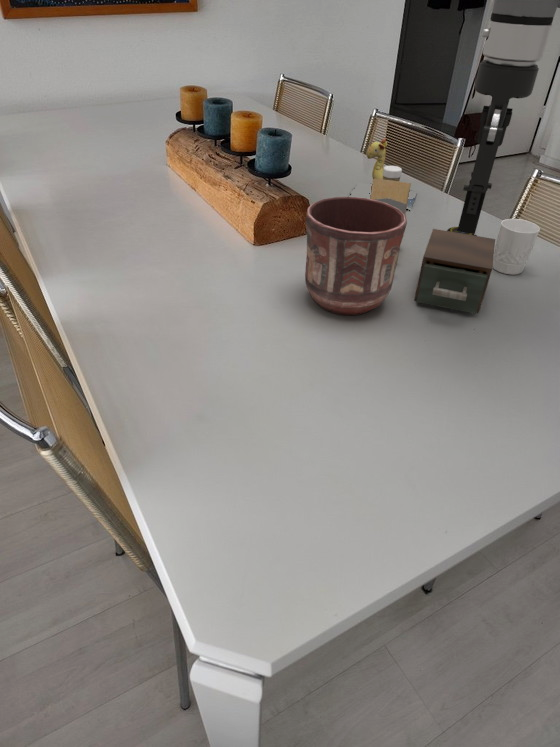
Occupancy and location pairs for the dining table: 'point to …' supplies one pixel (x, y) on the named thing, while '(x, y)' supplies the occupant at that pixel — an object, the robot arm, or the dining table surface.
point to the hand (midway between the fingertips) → (466, 230)
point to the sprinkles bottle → (392, 173)
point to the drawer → (451, 287)
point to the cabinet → (459, 253)
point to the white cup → (514, 245)
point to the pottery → (352, 252)
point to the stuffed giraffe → (381, 162)
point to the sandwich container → (391, 193)
